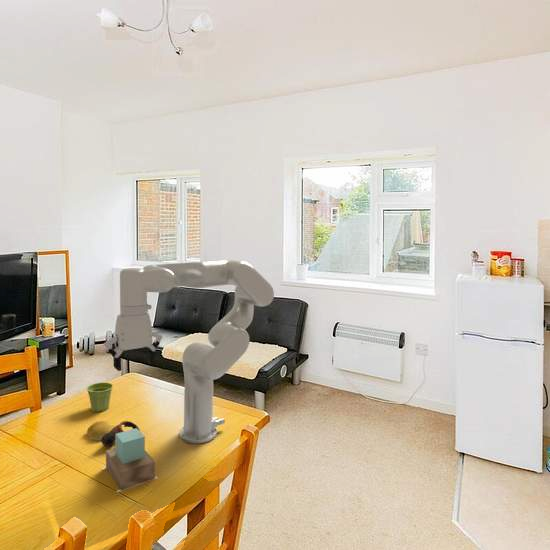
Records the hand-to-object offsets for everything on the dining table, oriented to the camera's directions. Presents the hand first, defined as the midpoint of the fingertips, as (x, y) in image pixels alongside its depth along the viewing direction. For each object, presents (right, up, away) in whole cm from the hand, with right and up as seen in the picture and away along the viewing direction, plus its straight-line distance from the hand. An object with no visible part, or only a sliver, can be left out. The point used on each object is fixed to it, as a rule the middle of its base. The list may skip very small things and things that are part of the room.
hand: (134, 366), depth 123 cm
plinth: (+2, -28, -9) cm, 29 cm away
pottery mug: (-7, -27, +8) cm, 29 cm away
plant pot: (-25, -24, +34) cm, 49 cm away
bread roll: (-16, -26, +15) cm, 34 cm away
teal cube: (+2, -23, -9) cm, 25 cm away
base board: (+2, -29, -8) cm, 30 cm away
